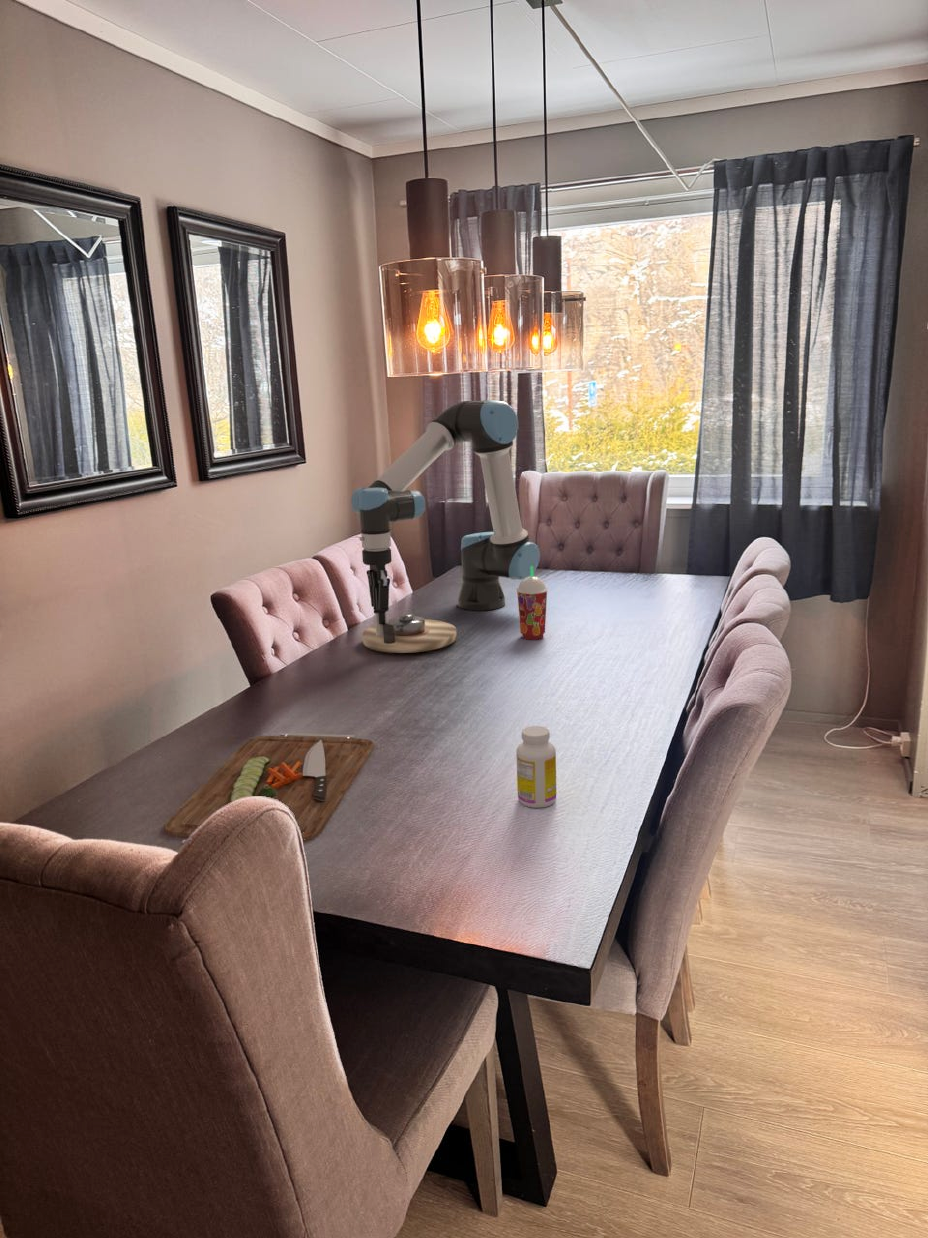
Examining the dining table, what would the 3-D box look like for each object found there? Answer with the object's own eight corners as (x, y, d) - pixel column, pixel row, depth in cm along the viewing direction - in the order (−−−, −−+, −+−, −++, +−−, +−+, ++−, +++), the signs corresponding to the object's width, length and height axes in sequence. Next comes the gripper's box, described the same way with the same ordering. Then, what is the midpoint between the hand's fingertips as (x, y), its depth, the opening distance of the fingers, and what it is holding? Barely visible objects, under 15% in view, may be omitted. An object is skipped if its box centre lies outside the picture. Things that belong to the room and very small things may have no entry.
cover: (400, 624, 253) (399, 609, 251) (431, 628, 248) (430, 612, 247) (382, 634, 244) (381, 618, 243) (413, 637, 240) (412, 621, 238)
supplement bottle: (553, 790, 156) (553, 722, 153) (558, 808, 150) (558, 737, 146) (515, 792, 156) (514, 724, 153) (519, 810, 150) (517, 739, 146)
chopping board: (256, 736, 187) (255, 722, 186) (381, 740, 182) (380, 726, 181) (150, 845, 144) (148, 828, 143) (309, 854, 139) (308, 836, 139)
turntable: (394, 622, 263) (392, 599, 261) (472, 630, 252) (471, 606, 250) (344, 646, 241) (342, 621, 239) (427, 657, 229) (426, 631, 228)
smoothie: (548, 632, 251) (547, 563, 246) (547, 641, 243) (547, 569, 238) (518, 632, 252) (517, 563, 247) (517, 641, 244) (515, 570, 239)
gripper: (355, 545, 236) (361, 630, 242) (369, 554, 224) (375, 643, 231) (382, 542, 238) (387, 626, 245) (398, 551, 227) (402, 639, 233)
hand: (381, 634), depth 238 cm, fingers closed
